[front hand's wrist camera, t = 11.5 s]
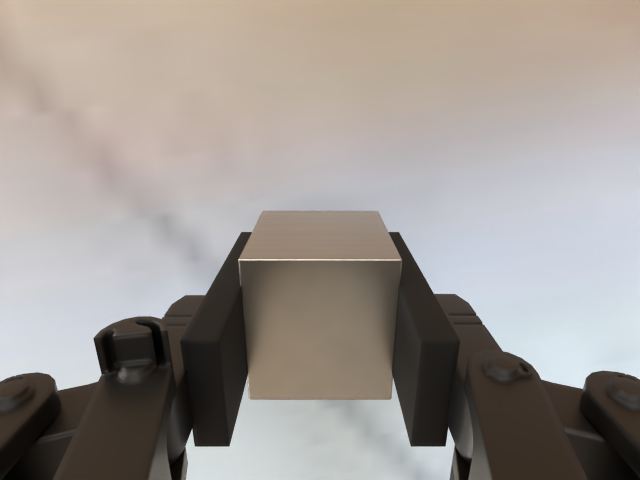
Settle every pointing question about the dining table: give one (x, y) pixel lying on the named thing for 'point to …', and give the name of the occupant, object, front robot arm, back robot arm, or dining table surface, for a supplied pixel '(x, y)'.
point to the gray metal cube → (320, 306)
